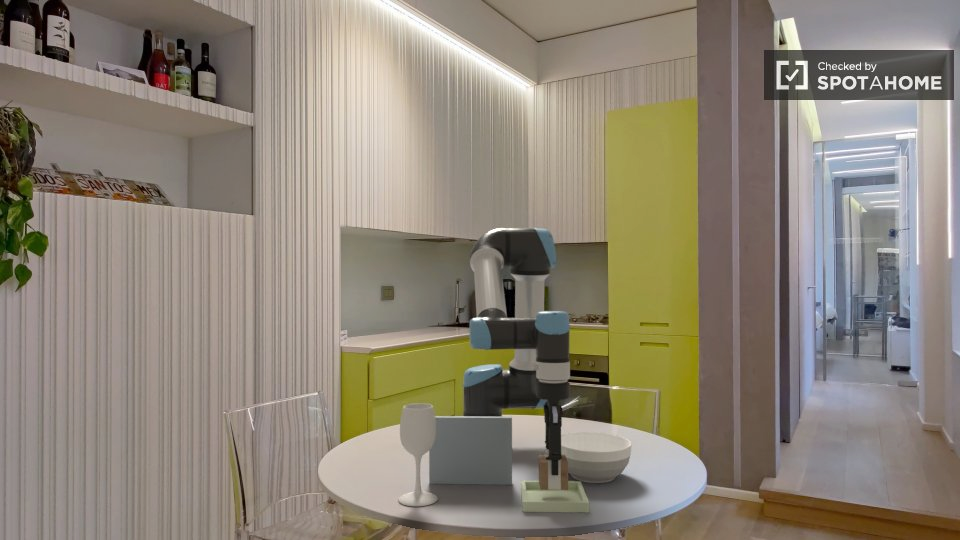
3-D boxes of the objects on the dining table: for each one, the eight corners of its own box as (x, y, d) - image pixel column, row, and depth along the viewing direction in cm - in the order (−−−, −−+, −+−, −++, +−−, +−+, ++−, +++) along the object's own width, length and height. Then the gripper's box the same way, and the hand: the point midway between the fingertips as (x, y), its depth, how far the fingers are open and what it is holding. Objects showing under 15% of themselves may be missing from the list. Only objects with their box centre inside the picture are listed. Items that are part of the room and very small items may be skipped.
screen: (429, 483, 151) (429, 417, 151) (430, 481, 152) (429, 416, 153) (512, 484, 150) (511, 417, 150) (512, 482, 152) (511, 416, 152)
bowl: (585, 493, 144) (585, 455, 144) (540, 471, 161) (540, 437, 161) (648, 481, 153) (647, 445, 153) (599, 461, 169) (599, 429, 170)
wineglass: (399, 493, 144) (399, 402, 144) (437, 492, 145) (437, 401, 145) (397, 507, 135) (397, 410, 136) (437, 506, 136) (437, 409, 136)
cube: (538, 481, 143) (538, 453, 143) (565, 481, 142) (565, 453, 143) (540, 489, 137) (540, 461, 137) (568, 489, 136) (568, 461, 137)
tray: (520, 489, 147) (520, 480, 147) (580, 490, 146) (580, 481, 146) (522, 511, 133) (522, 501, 133) (588, 512, 132) (588, 502, 132)
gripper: (533, 373, 150) (534, 471, 149) (538, 387, 131) (538, 498, 130) (565, 374, 149) (565, 471, 149) (574, 387, 130) (575, 499, 130)
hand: (553, 483), depth 139 cm, fingers closed on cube, 6 cm apart
